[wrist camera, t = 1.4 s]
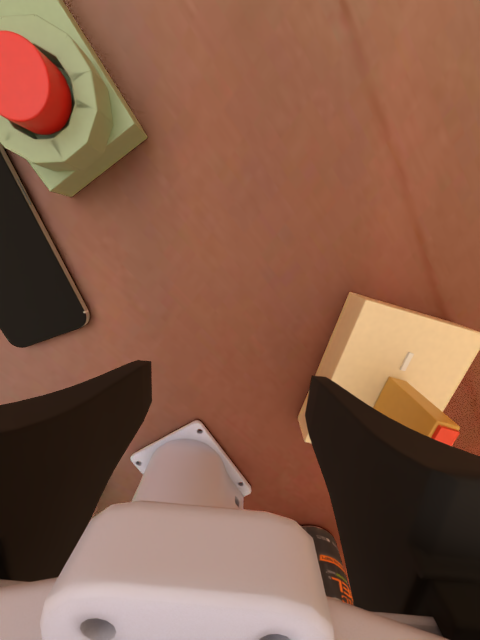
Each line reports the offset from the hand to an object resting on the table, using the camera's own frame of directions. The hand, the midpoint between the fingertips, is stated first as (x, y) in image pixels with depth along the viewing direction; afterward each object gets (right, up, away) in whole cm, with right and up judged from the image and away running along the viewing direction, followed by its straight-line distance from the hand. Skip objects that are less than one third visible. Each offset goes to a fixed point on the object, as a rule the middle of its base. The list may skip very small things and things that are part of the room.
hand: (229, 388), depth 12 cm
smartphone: (-17, +9, +8) cm, 21 cm away
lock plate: (+12, -1, +10) cm, 16 cm away
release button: (-10, +15, +3) cm, 19 cm away
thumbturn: (+11, -3, +8) cm, 14 cm away
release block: (-11, +18, +6) cm, 22 cm away
